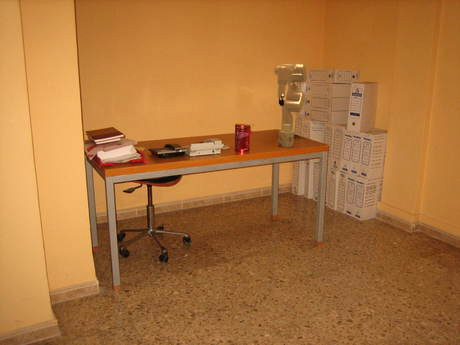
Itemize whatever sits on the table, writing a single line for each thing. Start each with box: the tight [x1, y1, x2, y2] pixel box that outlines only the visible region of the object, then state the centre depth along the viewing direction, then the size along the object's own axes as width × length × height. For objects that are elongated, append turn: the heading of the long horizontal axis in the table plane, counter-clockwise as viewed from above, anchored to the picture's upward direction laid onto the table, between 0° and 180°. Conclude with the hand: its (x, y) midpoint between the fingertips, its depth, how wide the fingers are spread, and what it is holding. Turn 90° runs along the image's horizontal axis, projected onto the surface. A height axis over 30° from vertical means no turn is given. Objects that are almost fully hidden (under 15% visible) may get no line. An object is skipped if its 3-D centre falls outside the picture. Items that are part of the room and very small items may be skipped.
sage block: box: [283, 124, 291, 132], centre depth 333 cm, size 5×5×5 cm
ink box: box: [277, 130, 295, 149], centre depth 335 cm, size 9×9×12 cm
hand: (281, 104), depth 341 cm, fingers open, 9 cm apart
